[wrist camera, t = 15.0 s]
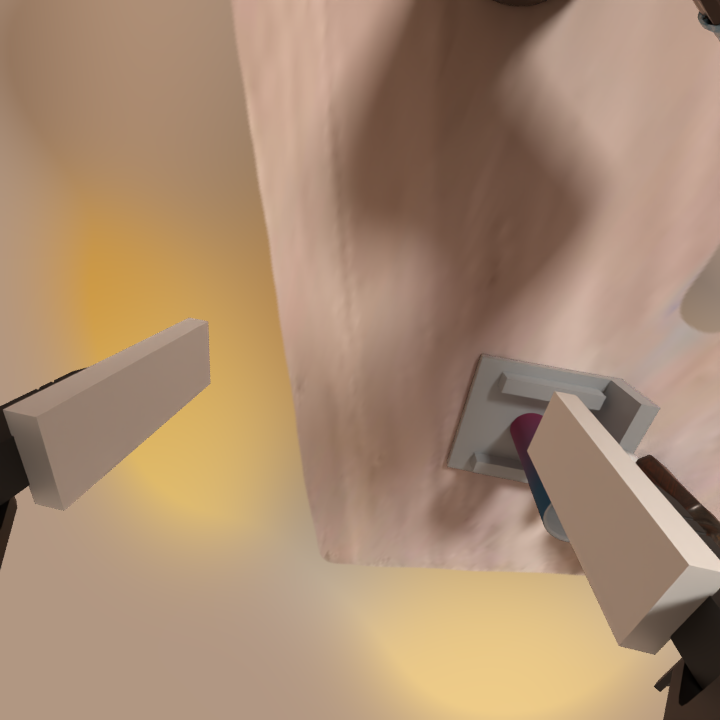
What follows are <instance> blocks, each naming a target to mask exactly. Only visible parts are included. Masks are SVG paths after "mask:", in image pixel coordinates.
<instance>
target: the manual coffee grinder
mask: <svg viewBox="0 0 720 720" xmlns="http://www.w3.org/2000/svg"><path fill="white" fill-rule="evenodd" d="M636 464H637V466H638V467H639V468H640V469H641V470H642V471H643V473H644V474H645V475H646V476H647V477H648V478H649V479H650V481H651V482H652V483H653V484H655V485H658V486H659V487H660V488H662V489H663V490H664V491H665V492H667V493H668V494H669V495H671V496H672V497H673V498H674V499H676V500H677V501H678V502H679V503H680V504H681V505H682V506H683V507H684V508H685V510H686V511H687V512H688V513H689V514H690V515H691V516H692V517H693V521H696V522H697V523H698V524H699V525H700V526H701V527H702V528H703V529H704V531H705V532H706V535H707V536H710V537H711V538H712V539H713V541H714V542H715V543H716V544H717V545H718V546H719V547H720V522H719V521H718V520H717V518H716V517H715V516H714V515H713V514H712V513H711V512H709V511H708V510H707V509H706V508H705V507H704V506H703V505H702V504H701V503H700V502H699V501H698V500H697V499H696V498H695V497H694V496H693V495H692V494H691V493H690V492H689V491H688V490H687V489H686V488H685V487H684V486H683V485H682V484H681V483H680V482H679V481H678V480H677V479H676V478H675V477H674V475H673V474H672V473H671V472H670V471H669V470H668V469H667V468H666V467H665V466H664V465H663V464H661V463H660V462H659V461H658V460H656V459H655V458H654V457H653V456H651V455H647V456H645V457H642V458H640V459H638V460H637V461H636Z"/></svg>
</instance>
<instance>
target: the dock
mask: <svg viewBox="0 0 720 720" xmlns="http://www.w3.org/2000/svg"><path fill="white" fill-rule="evenodd" d="M554 391H557V392H562V393H567V394H572V395H576V396H577V397H578V398H579V399H580V400H581V401H582V403H583V404H584V405H585V406H586V407H587V408H588V409H589V411H590V412H591V413H592V414H593V415H594V416H595V417H596V419H597V420H598V421H599V422H600V423H601V424H602V425H603V427H604V428H605V429H606V430H607V431H608V432H609V434H610V435H611V436H612V437H613V438H614V439H615V440H616V442H617V443H618V444H619V445H620V446H621V447H622V448H623V450H624V451H625V452H626V453H627V454H628V455H629V456H630V458H631V459H632V460H633V461H634V462H635V463H636V461H637V460H638V457H637V456H636V455H635V454H634V452H635V450H636V448H637V447H638V445H639V443H640V442H641V440H642V438H643V437H644V435H645V433H646V432H647V430H648V428H649V426H650V425H651V423H652V421H653V420H654V418H655V416H656V415H657V413H658V411H659V410H660V407H659V406H657V405H656V404H655V403H653V402H652V401H651V400H649V399H648V398H647V397H645V396H644V395H643V394H641V393H640V392H639V391H637V390H636V389H635V388H633V387H632V386H631V385H629V384H628V383H627V382H626V381H624V380H623V379H618V378H612V377H606V376H601V375H595V374H590V373H584V372H579V371H573V370H568V369H562V368H557V367H551V366H546V365H540V364H534V363H529V362H523V361H518V360H512V359H507V358H501V357H496V356H490V355H485V354H481V356H480V359H479V363H478V366H477V369H476V372H475V375H474V378H473V381H472V385H471V388H470V391H469V394H468V397H467V400H466V403H465V407H464V410H463V413H462V416H461V419H460V422H459V425H458V429H457V432H456V435H455V438H454V441H453V444H452V447H451V451H450V454H449V457H448V460H447V467H451V468H456V469H461V470H466V471H471V472H474V473H479V474H484V475H489V476H494V477H499V478H504V479H509V480H514V481H519V482H524V483H528V480H527V477H526V475H525V472H524V469H523V466H522V464H521V461H520V458H519V455H518V453H517V450H516V447H515V444H514V441H513V439H512V436H511V433H510V427H511V424H512V422H513V421H514V420H515V419H516V418H517V417H519V416H521V415H523V414H526V413H537V414H540V415H542V416H543V415H544V413H545V411H546V408H547V406H548V404H549V402H550V400H551V398H552V395H553V393H554Z"/></svg>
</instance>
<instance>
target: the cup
mask: <svg viewBox="0 0 720 720" xmlns="http://www.w3.org/2000/svg"><path fill="white" fill-rule="evenodd" d="M542 417H543V416H542V415H540V414H537V413H526V414H523V415H521V416H519V417H517V418H516V419H515V420H514V421H513V422H512V424H511V427H510V433H511V436H512V439H513V441H514V444H515V447H516V450H517V453H518V455H519V458H520V461H521V464H522V466H523V469H524V472H525V475H526V477H527V480H528V483H529V486H530V488H531V491H532V494H533V497H534V499H535V502H536V505H537V508H538V510H539V513H540V516H541V519H542V521H543V524H544V527H545V529H546V530H547V531H548V532H549V533H550V534H551V535H552V536H553V537H555V538H557V539H559V540H562V541H565V542H570V541H569V539H568V537H567V535H566V533H565V530H564V528H563V526H562V524H561V522H560V520H559V518H558V516H557V513H556V511H555V509H554V507H553V505H552V503H551V501H550V499H549V496H548V494H547V492H546V490H545V488H544V486H543V484H542V482H541V479H540V477H539V475H538V473H537V471H536V469H535V467H534V465H533V462H532V460H531V458H530V456H529V454H528V452H527V450H528V448H529V445H530V443H531V441H532V439H533V437H534V435H535V432H536V430H537V428H538V426H539V424H540V422H541V419H542Z"/></svg>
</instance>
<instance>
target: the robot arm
mask: <svg viewBox="0 0 720 720" xmlns="http://www.w3.org/2000/svg"><path fill="white" fill-rule="evenodd" d="M495 1H497V2H500V3H503V4H507V5H515V6H525V5H532V4H537V3H541V2H544V1H547V0H495ZM693 1H694V3H695V5H696V6H697V8H698V10H699V14H698V20H699V22H700V24H701V25H702V26H703V27H704V28H705V29H707V30H709V31H712V32H714V34H715V35H716V37H717V38H718V39H719V41H720V0H693ZM209 384H210V361H209V332H208V321H203V320H198V319H193V318H188V319H186V320H184V321H182V322H180V323H177V324H175V325H173V326H171V327H169V328H167V329H165V330H163V331H161V332H159V333H157V334H155V335H153V336H151V337H149V338H147V339H145V340H143V341H141V342H139V343H137V344H135V345H133V346H131V347H129V348H127V349H125V350H123V351H121V352H119V353H117V354H115V355H113V356H111V357H109V358H106V359H105V360H102V361H100V362H99V363H96V364H94V365H92V366H90V367H87V368H83V369H80V370H77V371H73V372H70V373H68V374H66V375H64V376H62V377H60V378H58V379H56V380H54V382H50V383H48V384H46V385H43V386H41V387H40V388H39V390H37V389H35V390H33V391H31V392H29V393H27V394H25V395H23V396H21V397H18V398H17V399H14V400H12V401H10V402H8V403H6V404H4V405H2V406H0V568H1V565H2V561H3V558H4V554H5V550H6V546H7V543H8V539H9V536H10V532H11V528H12V525H13V521H14V517H15V513H16V510H17V503H16V499H15V495H16V494H17V493H19V492H20V491H22V490H23V489H24V488H26V487H27V486H29V487H30V490H31V493H32V496H33V499H34V502H35V504H38V505H42V506H46V507H51V508H55V509H59V510H63V511H64V510H65V509H67V508H68V507H69V506H70V505H71V504H72V503H73V502H75V501H76V500H77V499H78V498H79V497H80V496H82V495H83V494H84V493H85V492H86V491H87V490H88V489H90V488H91V487H92V486H93V485H94V484H95V483H96V482H98V481H99V480H100V479H101V478H102V477H103V476H105V475H106V474H107V473H108V472H109V471H110V470H112V468H114V467H115V466H116V465H117V464H118V463H119V462H121V461H122V460H123V459H124V458H125V457H126V456H128V455H129V454H130V453H131V452H132V451H133V450H134V449H136V448H137V447H138V446H139V445H140V444H141V443H142V442H144V441H145V440H146V439H147V438H148V437H149V436H151V435H152V434H153V433H154V432H155V431H156V430H157V429H159V428H160V427H161V426H162V425H163V424H164V423H166V422H167V421H168V420H169V419H170V418H171V417H172V416H174V415H175V414H176V413H177V412H178V411H179V410H180V409H182V408H183V407H184V406H185V405H186V404H187V403H188V402H190V401H191V400H192V399H193V398H194V397H195V396H197V395H198V394H199V393H200V392H201V391H202V390H203V389H204V388H206V387H207V386H208V385H209ZM527 452H528V454H529V456H530V458H531V460H532V462H533V465H534V467H535V469H536V471H537V473H538V475H539V477H540V479H541V482H542V484H543V486H544V488H545V490H546V492H547V494H548V496H549V499H550V501H551V503H552V505H553V507H554V509H555V511H556V513H557V516H558V518H559V520H560V522H561V524H562V526H563V528H564V530H565V533H566V535H567V537H568V539H569V541H570V543H571V545H572V547H573V550H574V552H575V554H576V556H577V558H578V560H579V562H580V564H581V567H582V569H583V571H584V573H585V575H586V577H587V579H588V581H589V584H590V586H591V588H592V589H593V592H594V594H595V596H596V598H597V601H598V603H599V605H600V607H601V609H602V611H603V613H604V615H605V617H606V620H607V622H608V624H609V626H610V628H611V630H612V632H613V635H614V637H615V639H616V641H617V643H618V645H619V646H621V647H625V648H630V649H634V650H638V651H642V652H646V653H650V654H654V655H655V654H656V653H657V652H658V651H659V650H660V649H661V648H662V647H663V646H664V645H665V644H666V643H667V642H668V641H669V640H670V639H671V640H672V641H673V643H674V645H675V646H676V648H677V650H678V651H679V653H680V655H681V656H682V658H681V659H680V660H679V661H678V662H677V663H676V664H675V665H674V666H673V667H672V668H671V669H670V670H669V671H668V672H667V673H666V674H664V675H663V677H661V679H659V680H658V682H657V683H656V684H655V686H654V687H655V688H656V689H657V690H658V691H660V692H661V691H662V690H663V689H664V688H665V687H666V686H670V687H669V692H668V698H667V703H666V708H665V714H664V719H663V720H720V547H719V546H718V545H717V544H716V543H715V542H714V541H713V539H712V538H711V537H710V536H707V535H706V532H705V531H704V529H703V528H702V527H701V526H700V525H699V524H698V523H697V522H696V521H693V517H692V516H691V515H690V514H689V513H688V512H687V511H686V510H685V508H684V507H683V506H682V505H681V504H680V503H679V502H678V501H677V500H676V499H674V498H673V497H672V496H671V495H669V494H668V493H667V492H665V491H664V490H663V489H662V488H660V487H659V486H658V485H655V484H653V483H652V482H651V481H650V479H649V478H648V477H647V476H646V475H645V474H644V473H643V471H642V470H641V469H640V468H639V467H638V466H637V464H636V463H635V462H634V461H633V460H632V459H631V458H630V456H629V455H628V454H627V453H626V452H625V451H624V450H623V448H622V447H621V446H620V445H619V444H618V443H617V442H616V440H615V439H614V438H613V437H612V436H611V435H610V434H609V432H608V431H607V430H606V429H605V428H604V427H603V425H602V424H601V423H600V422H599V421H598V420H597V419H596V417H595V416H594V415H593V414H592V413H591V412H590V411H589V409H588V408H587V407H586V406H585V405H584V404H583V403H582V401H581V400H580V399H579V398H578V397H577V396H576V395H572V394H567V393H562V392H557V391H554V393H553V395H552V398H551V400H550V402H549V404H548V406H547V408H546V411H545V413H544V415H543V417H542V419H541V422H540V424H539V426H538V428H537V430H536V432H535V435H534V437H533V439H532V441H531V443H530V445H529V448H528V450H527Z"/></svg>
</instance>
